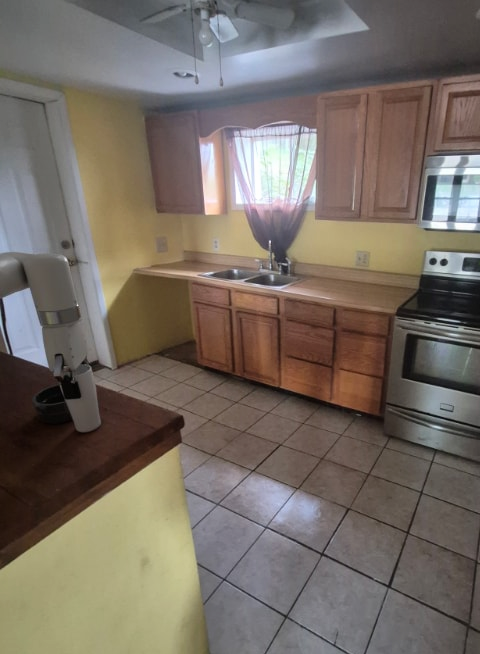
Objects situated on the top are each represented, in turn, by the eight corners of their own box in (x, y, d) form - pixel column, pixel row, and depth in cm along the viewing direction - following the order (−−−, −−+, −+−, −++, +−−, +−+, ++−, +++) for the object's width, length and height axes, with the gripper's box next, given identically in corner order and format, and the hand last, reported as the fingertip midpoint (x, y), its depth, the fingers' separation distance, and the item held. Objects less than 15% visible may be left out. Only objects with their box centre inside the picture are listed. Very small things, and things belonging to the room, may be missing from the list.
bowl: (30, 427, 88) (23, 407, 86) (49, 402, 98) (44, 384, 96) (81, 422, 90) (76, 402, 88) (95, 399, 100) (91, 381, 98)
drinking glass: (75, 422, 90) (60, 366, 84) (106, 416, 92) (93, 362, 86) (70, 438, 84) (53, 379, 78) (103, 431, 86) (89, 374, 80)
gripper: (56, 304, 84) (75, 374, 91) (19, 330, 68) (44, 412, 76) (92, 303, 85) (107, 372, 93) (63, 327, 70) (84, 408, 77)
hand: (79, 389), depth 84 cm, fingers closed on drinking glass, 6 cm apart
